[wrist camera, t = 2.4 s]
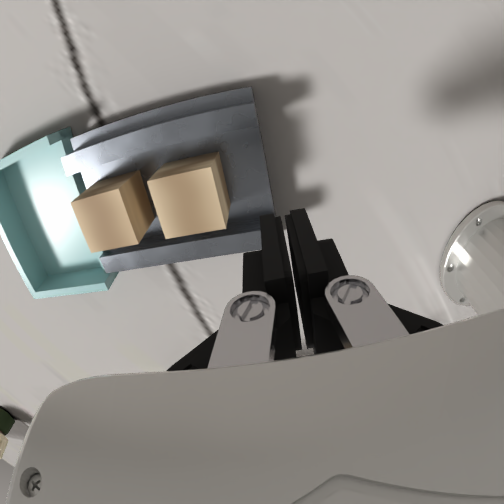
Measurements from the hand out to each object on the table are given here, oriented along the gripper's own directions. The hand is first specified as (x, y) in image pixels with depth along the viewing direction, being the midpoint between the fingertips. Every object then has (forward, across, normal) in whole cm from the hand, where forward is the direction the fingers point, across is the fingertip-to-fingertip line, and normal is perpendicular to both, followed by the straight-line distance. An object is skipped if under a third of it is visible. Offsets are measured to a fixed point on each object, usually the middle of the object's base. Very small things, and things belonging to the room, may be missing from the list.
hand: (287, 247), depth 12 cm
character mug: (+14, +72, +44) cm, 86 cm away
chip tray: (+14, +20, 0) cm, 24 cm away
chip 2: (+11, +5, 0) cm, 12 cm away
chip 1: (+12, +11, 0) cm, 16 cm away
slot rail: (+13, +7, 0) cm, 15 cm away
